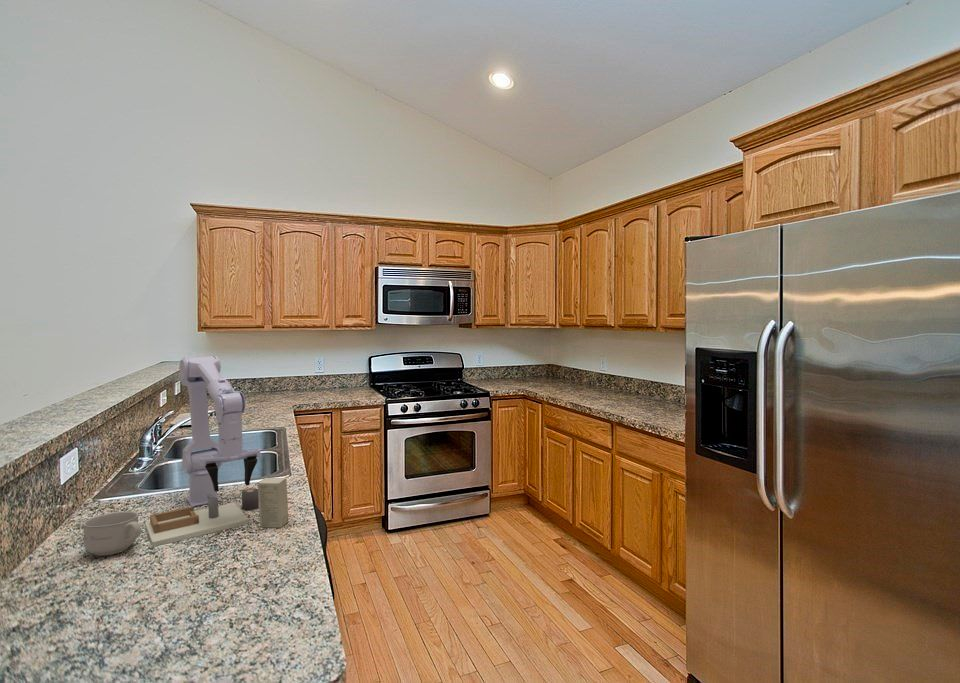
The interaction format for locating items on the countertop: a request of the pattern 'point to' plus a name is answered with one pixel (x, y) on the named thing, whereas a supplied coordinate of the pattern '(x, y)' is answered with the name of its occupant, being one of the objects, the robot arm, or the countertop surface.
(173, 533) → the board
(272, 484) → the skincare box
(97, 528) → the teacup
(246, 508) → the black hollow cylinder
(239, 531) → the countertop surface
